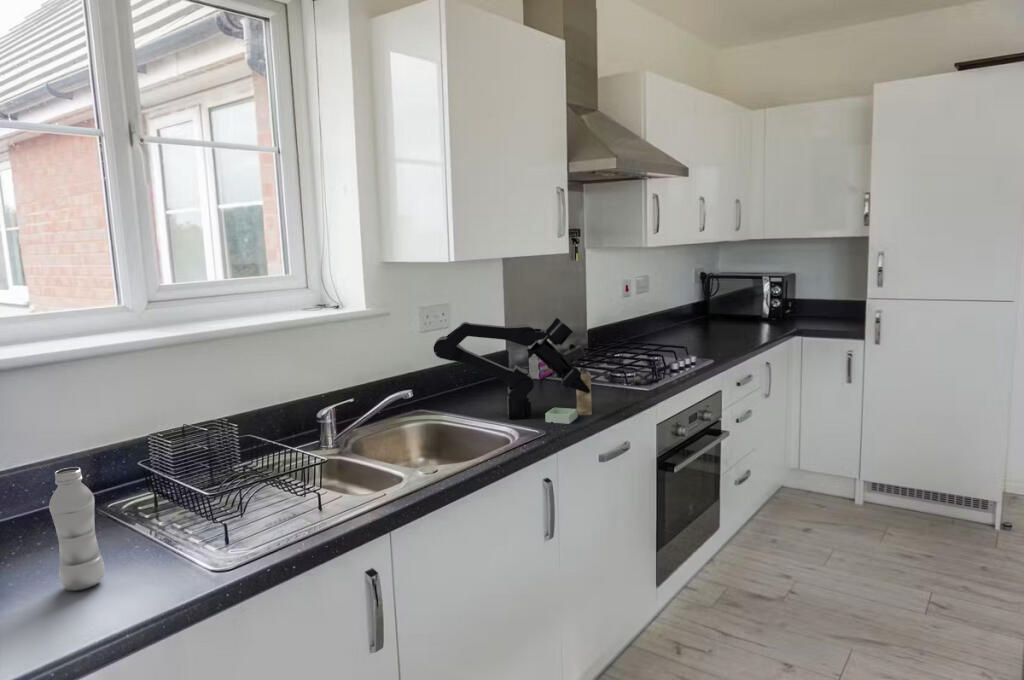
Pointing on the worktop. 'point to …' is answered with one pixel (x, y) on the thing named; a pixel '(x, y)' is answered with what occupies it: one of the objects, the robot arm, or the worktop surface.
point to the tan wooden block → (584, 397)
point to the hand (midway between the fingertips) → (588, 390)
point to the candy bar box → (538, 366)
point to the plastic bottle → (76, 531)
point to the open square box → (561, 415)
